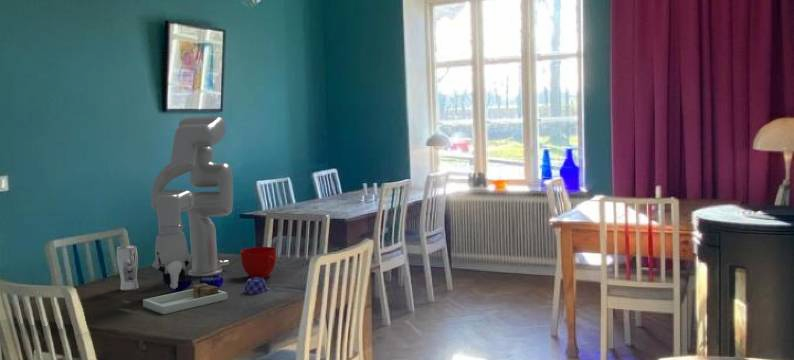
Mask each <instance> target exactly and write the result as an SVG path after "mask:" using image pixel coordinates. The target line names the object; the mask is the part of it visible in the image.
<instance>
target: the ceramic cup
mask: <svg viewBox="0 0 794 360" xmlns="http://www.w3.org/2000/svg"><path fill="white" fill-rule="evenodd" d="M276 257H277V250H276V248H275V247H272V246H271V247H270V246H259V247H258V246H256V247H249V248H244V249H241V250H240V260H241V265H242V267H243V269H244V272H245V273H246V274H247V275H248V276H249V277H250V278H257V277H260V278H263V279H265V278H267V277H269V275H270V274H271V273H272V271H273V270H274V268H275V264H276Z"/></svg>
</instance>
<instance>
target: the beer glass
mask: <svg viewBox="0 0 794 360" xmlns="http://www.w3.org/2000/svg"><path fill="white" fill-rule="evenodd" d="M138 260H139V256H138V249H137V246H136V245H133V244H132V245H122V246H118V247H116V263H117V269H118V272H119V276H120V287H119V288H120V291H125V292H126V291H133V290H137V289H139V283H138V279H137V278H138V276H137V275H138V266H139V265H138V263H139V261H138Z"/></svg>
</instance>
